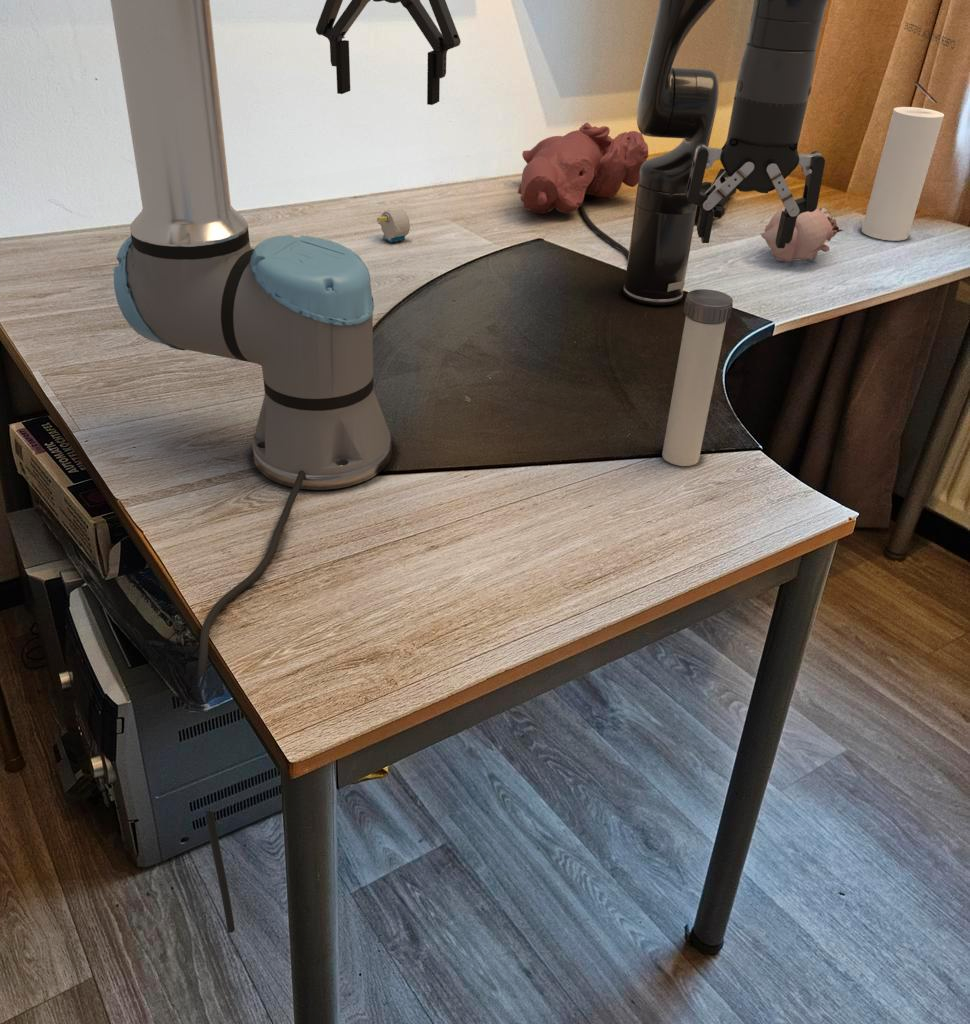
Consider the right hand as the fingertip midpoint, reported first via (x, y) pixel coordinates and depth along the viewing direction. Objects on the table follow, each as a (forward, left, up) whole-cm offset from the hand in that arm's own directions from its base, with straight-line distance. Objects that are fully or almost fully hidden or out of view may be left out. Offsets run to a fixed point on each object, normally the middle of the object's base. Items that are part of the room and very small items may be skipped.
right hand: (741, 243), depth 110 cm
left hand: (-31, -46, +7) cm, 56 cm away
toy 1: (-89, +10, -21) cm, 92 cm away
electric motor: (-54, -50, -21) cm, 76 cm away
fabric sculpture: (-83, -18, -21) cm, 88 cm away
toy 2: (-60, +21, -21) cm, 67 cm away
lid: (+14, -5, -2) cm, 15 cm away
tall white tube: (-78, +41, -21) cm, 91 cm away
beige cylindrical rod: (+14, -5, -21) cm, 26 cm away
